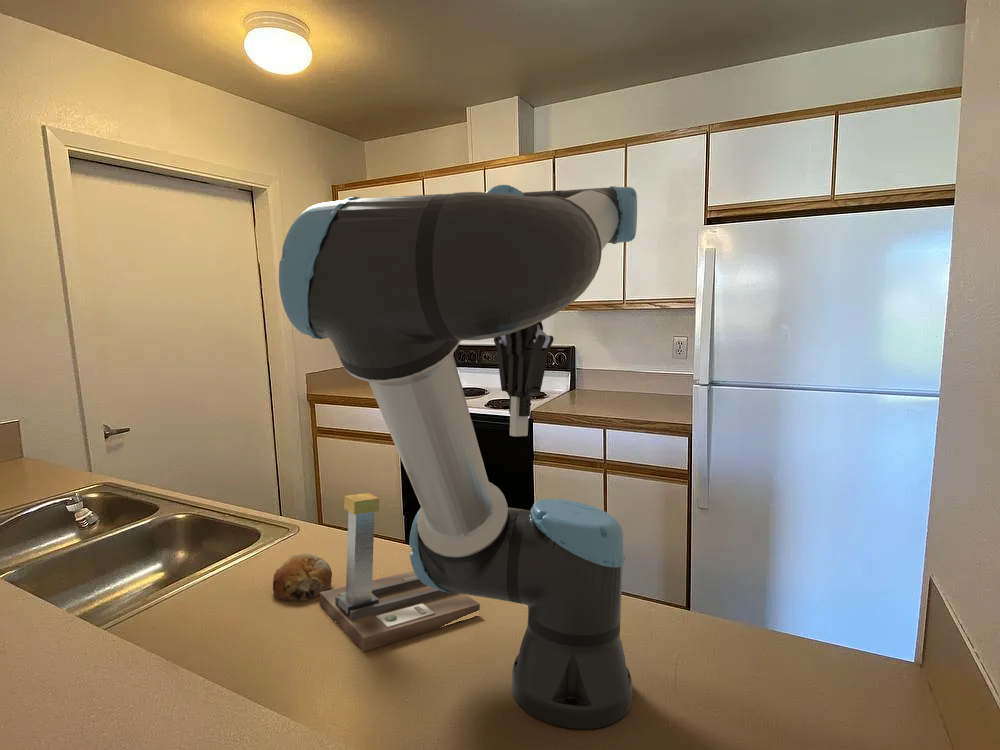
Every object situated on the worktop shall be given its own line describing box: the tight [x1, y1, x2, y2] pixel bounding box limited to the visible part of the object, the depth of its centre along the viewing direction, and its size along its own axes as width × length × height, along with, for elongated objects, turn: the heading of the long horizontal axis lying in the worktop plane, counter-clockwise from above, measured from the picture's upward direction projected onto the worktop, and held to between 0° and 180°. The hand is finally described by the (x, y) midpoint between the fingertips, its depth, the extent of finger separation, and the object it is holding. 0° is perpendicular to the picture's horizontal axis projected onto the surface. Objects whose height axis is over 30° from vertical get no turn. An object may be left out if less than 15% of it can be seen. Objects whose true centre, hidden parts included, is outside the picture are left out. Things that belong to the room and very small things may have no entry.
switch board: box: [319, 570, 481, 653], centre depth 90 cm, size 18×20×3 cm
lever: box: [338, 492, 380, 615], centre depth 85 cm, size 4×5×17 cm
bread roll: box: [272, 553, 333, 602], centre depth 97 cm, size 10×10×8 cm
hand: (518, 435), depth 91 cm, fingers closed
